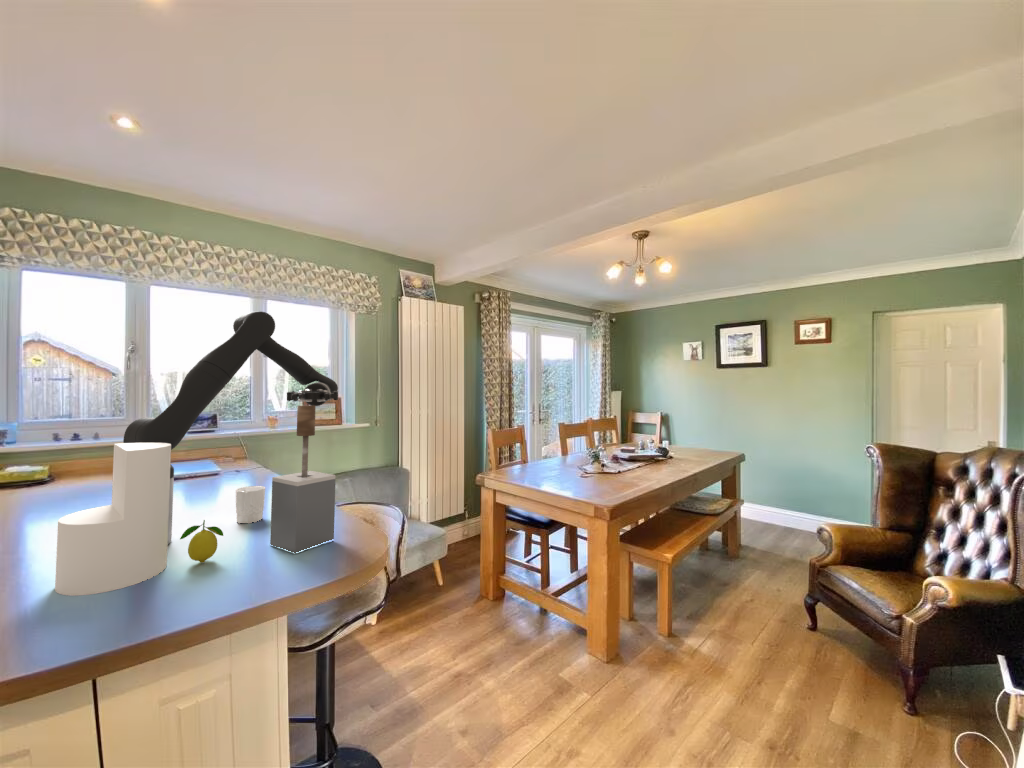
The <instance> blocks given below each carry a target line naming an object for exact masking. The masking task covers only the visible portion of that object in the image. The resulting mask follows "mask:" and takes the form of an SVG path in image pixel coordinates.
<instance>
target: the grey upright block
mask: <svg viewBox="0 0 1024 768" xmlns="http://www.w3.org/2000/svg"><path fill="white" fill-rule="evenodd" d="M336 477H337V475H336V474H332V473H327V472H320V471H314V470H308V474H307V477H304V478H302V471H301V472H295V473H290V474H284V475H277V476H272V477H271V478H272V479H271V505H270V506H271V508H270V510H271V511H270V512H271V514H270V535H269V537H270V538H269V539H270V540H269V541H270V542H269V545H270V544H271V545H273V546H276V547H280V548H283V549H286V550H288V551H291V552H294V553H296V552H299V551H301V550H304V549H307V548H310V547H312V546H315V545H318V544H321V543H323V542H326V541H329V540H332V539H334V540H335V513H336V512H335V510H336Z"/></svg>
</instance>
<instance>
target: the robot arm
mask: <svg viewBox="0 0 1024 768" xmlns="http://www.w3.org/2000/svg"><path fill="white" fill-rule="evenodd" d="M232 326H233V328H232V329H233V332H234V333H233V335H232V336H231V337H230V338H229V339H227V340H226V341H225V342H223V343H222V344H220V345H219V346H217V347H216V348H214V349H213V350H211V351H210V352H208V353H207V354H206V355H205V356H203V357H202V358H201V359H199V361H198V362H197V363H196V364H195V365H194V366H193V367H192V368H191V369H190V370H189V371H188V372H187V374H186V375H185V377H184V379H183V381H182V384H181V386H180V389H179V392H178V393H177V396H176V397H175V399H174V400H173V401H172V402H171V404H169V405H168V407H167V408H165V410H163V411H162V412H161V413H160V414H159V415H157V416H156V417H142V418H138V419H136V420H133V421H132V422H131V423H130V424H128V426H127V427H126V429H125V431H124V434H123V442H122V443H169V444H171V451H172V450H174V449H175V448H176V447H177V446H178V445H179V444H180V443H181V441H182V440H183V438H184V437H185V436H186V434H187V433H188V431H189V430H190V428H191V427H192V425H193V424H194V423H195V422H196V420H197V418H199V416H200V415H201V414H202V412H203V411H205V409H207V407H208V406H209V405H210V404H211V403H212V401H213V400H214V399H215V398H216V397H217V396H218V395H219V393H220V392H221V391H222V390H223V389H224V388H225V387H226V386H227V384H228V383H230V381H231V380H232V378H233V377H234V376H235V375H236V374H237V372H238V371H240V369H241V368H242V367H243V366H244V364H245V363H246V362H247V360H248V359H249V357H251V355H252V354H253V353H255V351H259V352H260V353H261V354H263V355H264V356H265V357H267V358H269V359H270V361H273V362H274V363H275V364H276V365H278V366H279V367H280V368H281V369H283V370H284V371H285V372H286V373H288V375H289V376H291V377H292V379H294V380H295V381H296V382H297V383H299V384H300V385H301V386H306V385H307V386H306V387H305V388H304V389H303V390H298V391H294V390H293V391H288V392H286V400H287V401H288V402H291V401H293V402H297V401H298V402H301V403H303V402H305V403H306V405H307V404H308V405H311V406H316V407H320V406H322V405H324V404H325V403H326V402H328V401H332V400H334V401H338V400H339V391H338V389H339V387H338V386H339V385H338V384H337V383H336V381H334V379H332V378H330V377H328V376H326V375H324V374H322V373H321V372H319V371H317V370H316V369H315V368H314V367H313V366H312V365H311V364H309V362H307V360H305V359H304V358H303V357H301V356H300V355H299V354H297V353H295V352H294V351H292V350H290V349H288V348H287V347H284V346H283V345H282V344H279V343H278V342H277V341H276V340H274V338H273V337H272V336H273V334H274V332H275V329H276V321H275V319H274V317H273V316H272V315H271V314H270V313H267V312H265V311H260V310H259V311H255V310H254V311H251V312H248V313H245V314H243V315H241V316H238V317H236V318H235V320H234V322H233V325H232ZM174 477H175V468H174V466H173V465H172V464H171V463H170V489H169V516H168V543H167V545H169V544H170V543H172V538H173V537H172V536H173V506H174V487H175V486H174V484H175V483H174V479H175V478H174Z"/></svg>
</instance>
